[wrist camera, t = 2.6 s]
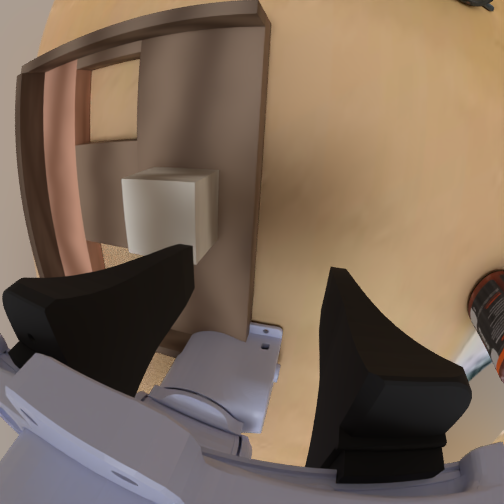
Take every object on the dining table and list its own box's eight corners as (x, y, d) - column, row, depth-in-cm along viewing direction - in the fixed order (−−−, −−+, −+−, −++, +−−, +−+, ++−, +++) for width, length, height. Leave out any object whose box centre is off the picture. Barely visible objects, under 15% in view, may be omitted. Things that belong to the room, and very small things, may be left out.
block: (218, 170, 18) (194, 182, 15) (217, 239, 21) (196, 264, 17) (154, 167, 19) (121, 178, 16) (157, 230, 21) (128, 252, 18)
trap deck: (271, 23, 15) (256, -4, 10) (249, 339, 27) (236, 378, 22) (54, 66, 19) (18, 66, 14) (78, 293, 31) (53, 316, 26)
